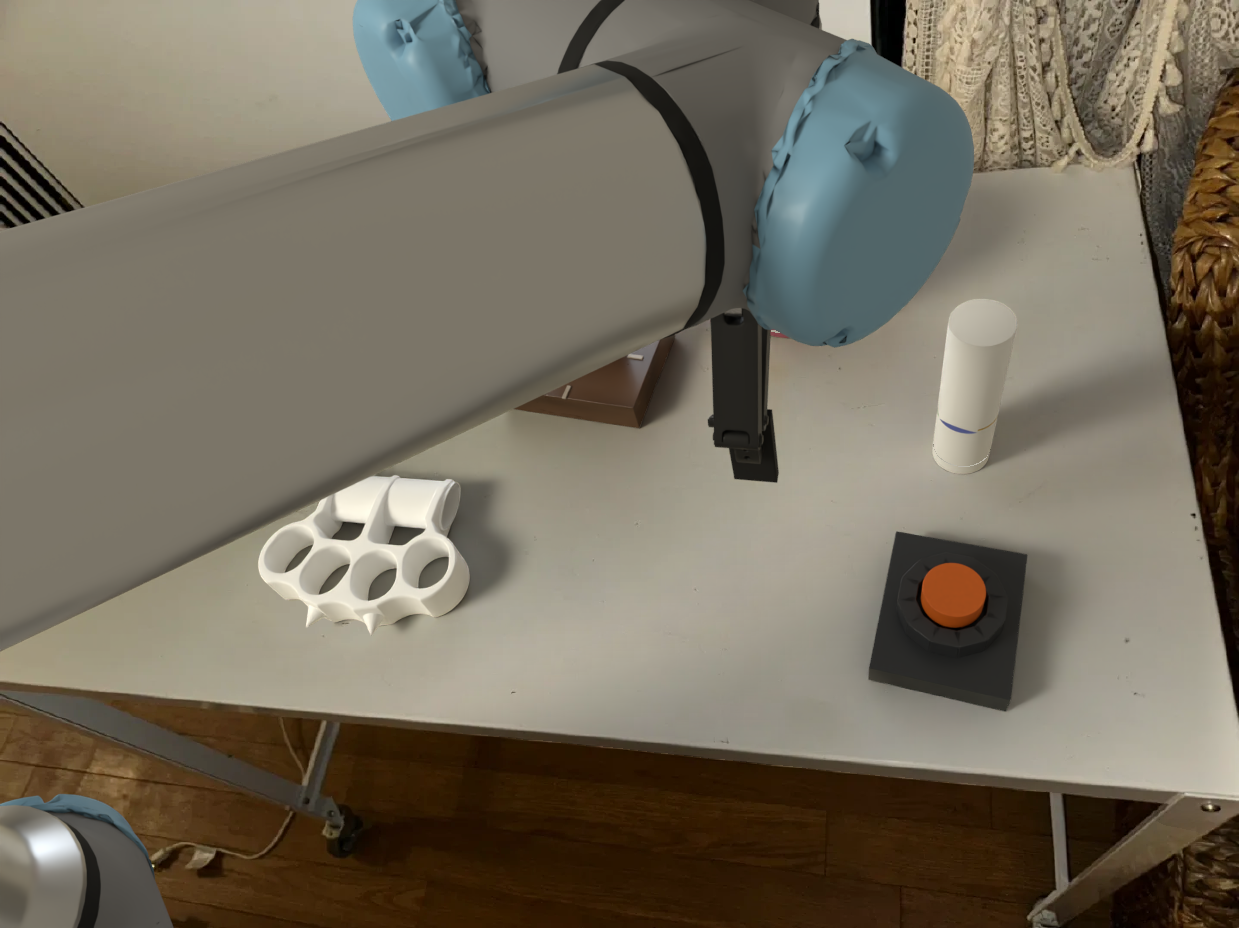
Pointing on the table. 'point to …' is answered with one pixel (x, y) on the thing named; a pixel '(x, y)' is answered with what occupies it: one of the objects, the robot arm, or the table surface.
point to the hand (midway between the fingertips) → (772, 392)
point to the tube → (972, 383)
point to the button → (953, 595)
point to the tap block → (609, 389)
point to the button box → (945, 656)
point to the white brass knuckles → (371, 552)
